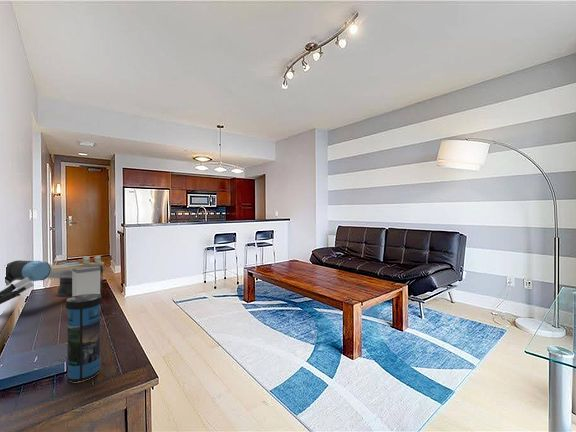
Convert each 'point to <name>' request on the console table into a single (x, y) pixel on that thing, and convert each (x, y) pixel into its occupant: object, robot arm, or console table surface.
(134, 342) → the console table surface
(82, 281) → the grey-banded white block
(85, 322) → the advertising column
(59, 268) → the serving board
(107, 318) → the console table surface
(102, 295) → the cola bottle
